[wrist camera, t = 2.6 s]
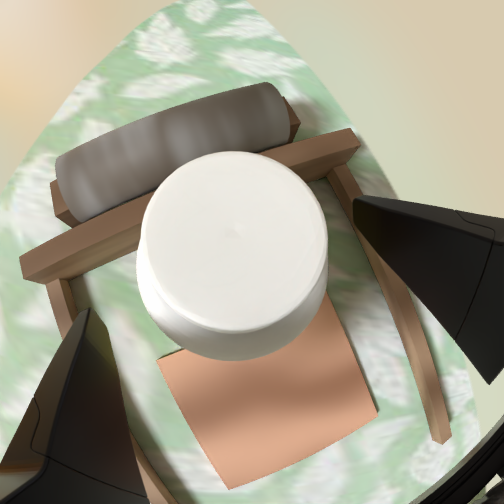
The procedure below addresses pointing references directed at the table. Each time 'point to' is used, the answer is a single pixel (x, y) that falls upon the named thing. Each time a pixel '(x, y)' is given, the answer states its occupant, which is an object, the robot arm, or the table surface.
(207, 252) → the supplement bottle
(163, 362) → the frame
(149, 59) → the table surface
